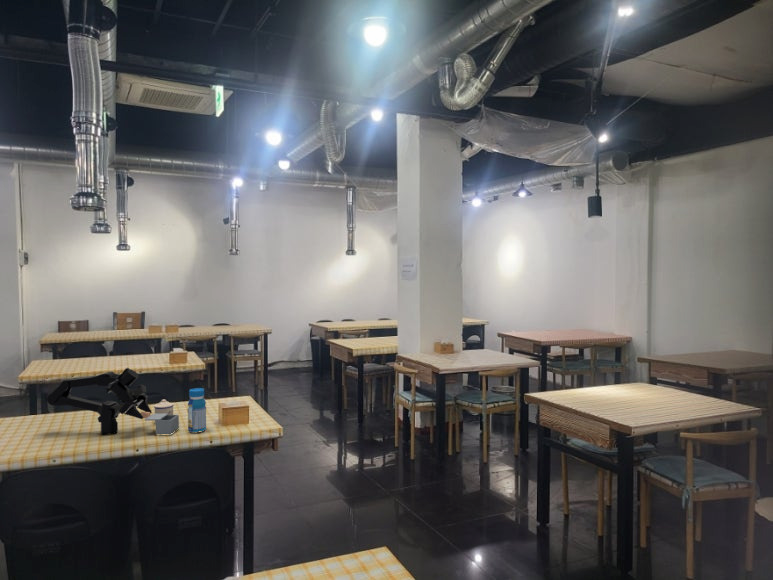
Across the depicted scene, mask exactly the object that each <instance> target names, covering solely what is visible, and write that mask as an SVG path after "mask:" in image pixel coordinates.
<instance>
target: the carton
mask: <svg viewBox="0 0 773 580" xmlns="http://www.w3.org/2000/svg"><path fill="white" fill-rule="evenodd" d="M179 420H180V416H179V414H173V415H167V416H166V417H164V418H163V419H161V420H156V424H155V435H156V434H171V433H173V432H174V431H176V430H177V429H178V428H180V421H179ZM178 430H179V429H178ZM178 430H177V431H178ZM177 431H176V432H177ZM173 434H174V433H173Z"/></svg>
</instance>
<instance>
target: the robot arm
mask: <svg viewBox="0 0 773 580" xmlns="http://www.w3.org/2000/svg"><path fill="white" fill-rule="evenodd" d="M139 377H140V376H139V373H137V371H135V370H133V369H130V368H129V367H126V368H125V369H123V371H122V372H121V373H115V372H113V371H107V372H104V373H101V374H97V375H92V376H86V377H85V376H84V377H79V378H77V377H76V378H67V379H65V380H63V381H62V382H61V383H60V385H58V386H57V387H56V388H55V389H54V390H53V391H52V393H50V394H48V395H47V397H46V401H47V405H50V406H53V407H55V406H56V407H62V406H63V407H64V406H68V407H71V408H72V407H73V408H77V409H82V410H85V411H90V412H94V413H97V414H98V415H99V416H98V417H97V421H98V423H100V430H99V433H100V435H101V436H106V435H108V436H109V435H114V434H118V431H119V429H118V428H119V426H118V425H119V423H118V421H117V418H118V417H119V415H120V414H121V415H125V416H130V417H134V418H137V419H141V420H143V419H144V418H143V416H142V415H141V412H140V411H139V409H140V410H141V411H142V412H150V415H152V414H153V412H152V410H151V407H150V406H149V404H148V397H149V395H148V394H146V393H147V390H146V389H147V386H145V385H144V384H139V385H138V386H137V388H136V389H134V390H133V388H128V387H129V386H131V385H132V384H133V383H134V382H135V381H136V380H137V379H138V378H139ZM85 386H86V387H87V386H101V387H106V386H108V387H106V390H105V391H106V392H105V393H106V394H109V393H112V394H113V395H114V396H116V397H117V398H118V399H117V401H113V400H106V401H104V402H99V401H95V400H89V399H86V398H81V397H78V396H73V395H72V394H71V393H70V392H71V390H72V388H76V387H78V388H79V387H85ZM120 401H121V402H122V403H123V405H121V404H120V403H118V402H120Z"/></svg>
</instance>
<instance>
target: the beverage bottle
mask: <svg viewBox="0 0 773 580" xmlns="http://www.w3.org/2000/svg"><path fill="white" fill-rule="evenodd" d="M188 392H189V393H188V396H189V400H188V401H187V406H188V408H187V431H189V432H188V433H190V432H199V431H204V430H205V431H207V406H206V405H207V401H206V399H205V389H204V388H203V387H202V388H201V387H196V388H191V389H189V391H188ZM205 431H204V432H205Z"/></svg>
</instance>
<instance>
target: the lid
mask: <svg viewBox="0 0 773 580" xmlns="http://www.w3.org/2000/svg"><path fill="white" fill-rule="evenodd" d="M140 413H141V415H142V416H143V419H144V421H146V422H147V421H148V422H149V421H152V422H153V421H155V420H161V419H163V418H164V417H166V416H167V415H168V413H163V414H155V413H151V414H150V412H145V411H141V412H140Z"/></svg>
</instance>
